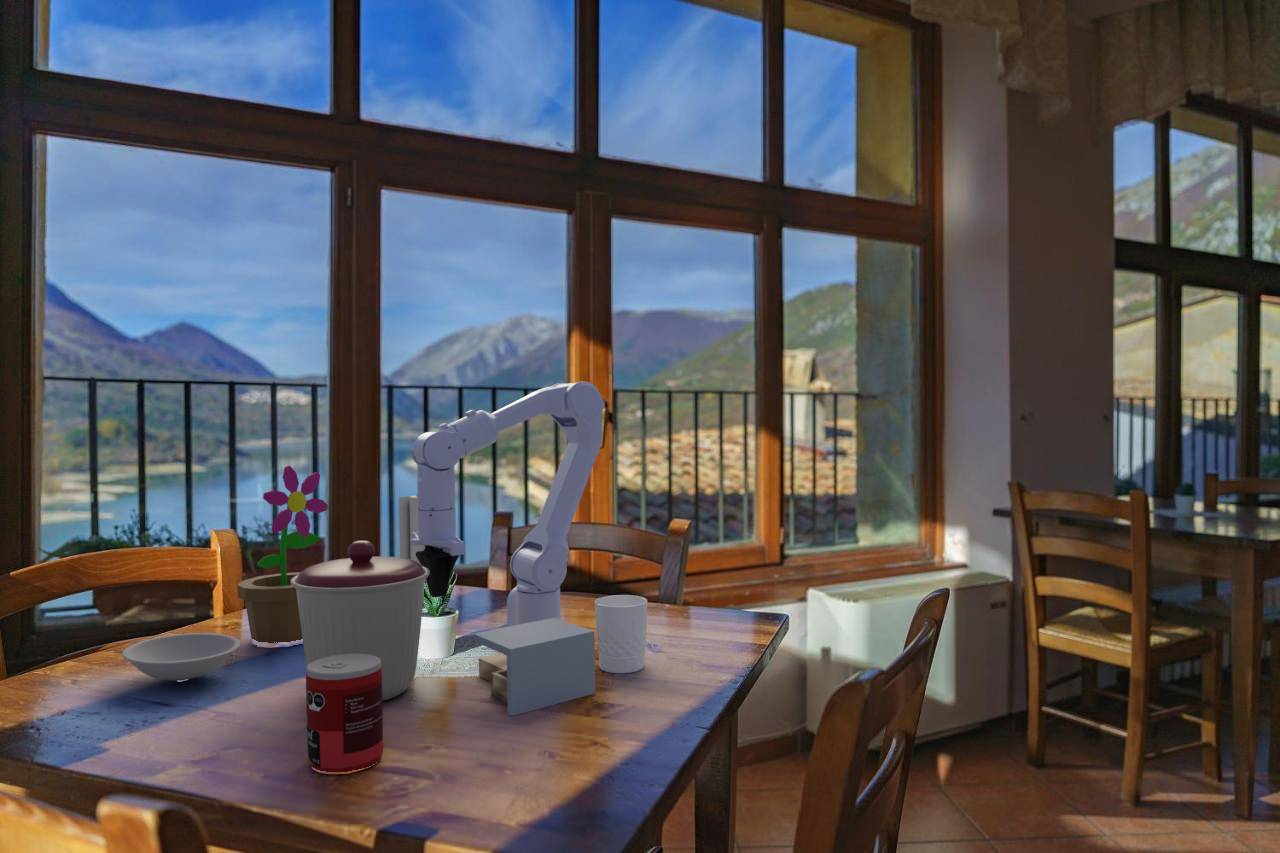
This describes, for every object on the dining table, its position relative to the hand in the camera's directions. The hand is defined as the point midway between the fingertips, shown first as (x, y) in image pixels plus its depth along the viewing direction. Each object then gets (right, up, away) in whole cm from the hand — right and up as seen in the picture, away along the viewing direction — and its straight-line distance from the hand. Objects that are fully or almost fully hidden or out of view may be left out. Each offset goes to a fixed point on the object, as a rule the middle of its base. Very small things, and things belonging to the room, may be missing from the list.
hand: (438, 595), depth 131 cm
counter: (+17, -10, -17) cm, 26 cm away
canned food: (-1, -11, -38) cm, 40 cm away
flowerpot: (-29, -10, +13) cm, 33 cm away
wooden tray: (+14, -10, -13) cm, 22 cm away
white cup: (+29, -10, -5) cm, 31 cm away
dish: (-35, -11, -9) cm, 38 cm away
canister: (-7, -11, -15) cm, 20 cm away
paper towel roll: (-14, -9, +44) cm, 47 cm away
